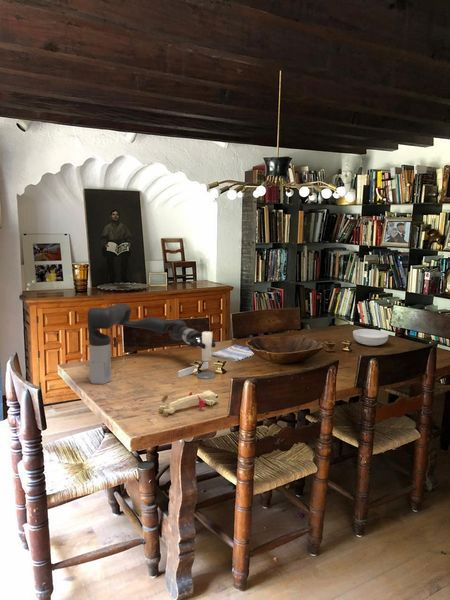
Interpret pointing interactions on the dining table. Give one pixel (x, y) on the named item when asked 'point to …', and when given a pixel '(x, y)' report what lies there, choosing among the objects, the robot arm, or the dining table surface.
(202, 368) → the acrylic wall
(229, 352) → the dish towel
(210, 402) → the rope dog toy
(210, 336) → the candle
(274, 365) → the dining table surface
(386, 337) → the serving bowl
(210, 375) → the coaster
